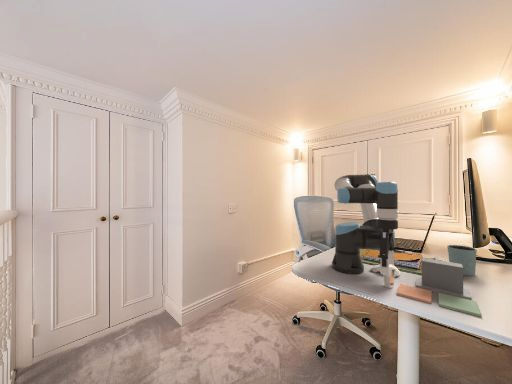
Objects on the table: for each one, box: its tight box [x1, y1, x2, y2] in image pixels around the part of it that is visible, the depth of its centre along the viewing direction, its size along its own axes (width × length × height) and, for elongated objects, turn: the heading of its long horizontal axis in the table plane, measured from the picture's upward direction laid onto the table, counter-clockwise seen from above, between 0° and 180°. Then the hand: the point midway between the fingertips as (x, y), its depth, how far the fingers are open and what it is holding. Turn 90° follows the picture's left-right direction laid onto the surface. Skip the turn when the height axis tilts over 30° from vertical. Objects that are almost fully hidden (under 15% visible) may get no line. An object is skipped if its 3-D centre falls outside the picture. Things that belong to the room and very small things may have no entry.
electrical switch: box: [429, 255, 440, 260], centre depth 93 cm, size 9×5×9 cm, turn 141°
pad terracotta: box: [396, 283, 433, 305], centre depth 79 cm, size 10×10×1 cm
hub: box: [415, 257, 473, 301], centre depth 82 cm, size 16×8×11 cm, turn 49°
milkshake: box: [382, 264, 396, 289], centre depth 86 cm, size 4×5×10 cm
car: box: [370, 264, 401, 278], centre depth 100 cm, size 12×6×5 cm, turn 45°
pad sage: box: [437, 292, 483, 318], centre depth 71 cm, size 10×10×1 cm
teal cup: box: [446, 244, 478, 277], centre depth 100 cm, size 10×10×12 cm
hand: (387, 269), depth 85 cm, fingers open, 13 cm apart
